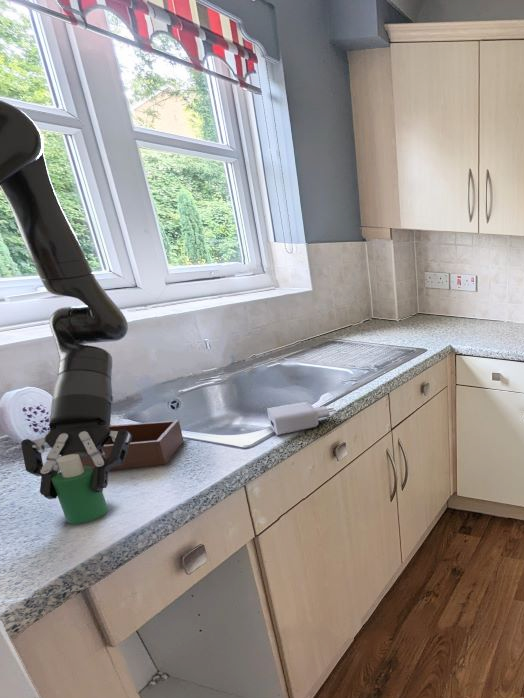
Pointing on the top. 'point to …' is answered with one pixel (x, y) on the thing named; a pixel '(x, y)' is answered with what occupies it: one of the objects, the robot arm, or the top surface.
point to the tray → (145, 444)
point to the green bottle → (77, 491)
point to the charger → (296, 417)
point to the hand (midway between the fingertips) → (74, 493)
